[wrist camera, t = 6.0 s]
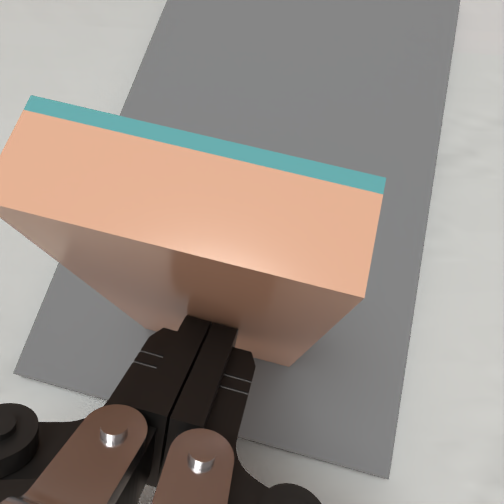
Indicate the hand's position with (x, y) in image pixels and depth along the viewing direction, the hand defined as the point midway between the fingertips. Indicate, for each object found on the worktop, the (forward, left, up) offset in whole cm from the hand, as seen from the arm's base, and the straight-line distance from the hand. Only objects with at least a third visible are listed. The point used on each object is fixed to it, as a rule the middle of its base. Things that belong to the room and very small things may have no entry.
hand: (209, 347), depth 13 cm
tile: (0, +2, -5) cm, 6 cm away
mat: (0, +10, -6) cm, 11 cm away
